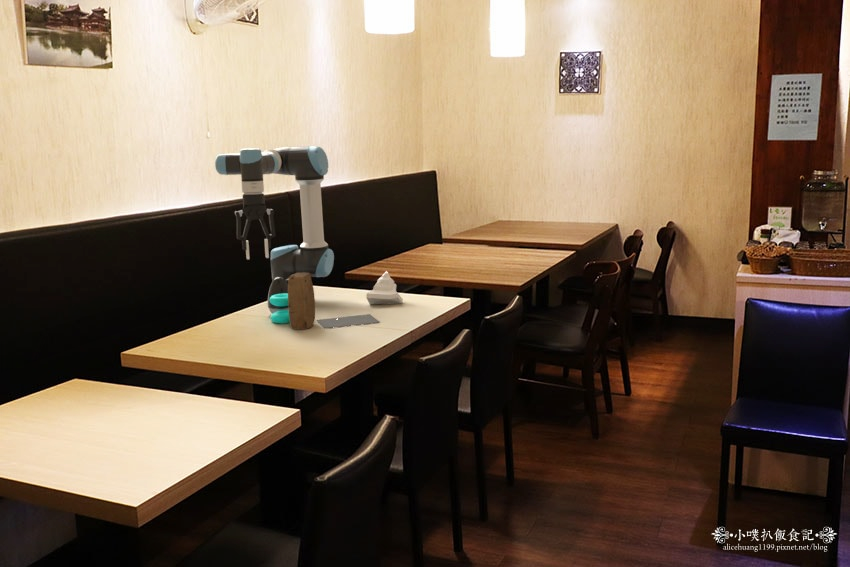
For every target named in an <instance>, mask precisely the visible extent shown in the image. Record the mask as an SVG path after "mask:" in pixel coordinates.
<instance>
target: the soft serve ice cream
mask: <svg viewBox="0 0 850 567" xmlns="http://www.w3.org/2000/svg"><path fill="white" fill-rule="evenodd" d="M376 281H377V282H376V283H375V285H373V287H372V288H373V289H371V290H370V291H368V292H366V294H365V295H366V297H365V298H366V300H367V302H368V304H369V305H370V304H371V305H388V304H387V303H395V304H403V301H404V300H403V299H404V298H403V297H402V296H401V295H400V293H399V292H397V284H396V283H395V280H394V279H393V278H391V275H390V274H389V272H388V271H387V270H386V271H385V272H384V273H383V274H382V275H381V276H380V277H379V278H378V279H377V280H376Z"/></svg>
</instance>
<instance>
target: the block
mask: <svg viewBox="0 0 850 567" xmlns="http://www.w3.org/2000/svg"><path fill="white" fill-rule="evenodd" d="M288 282H289V284H288V285H289V286H288V306H289V319H290V323H289V326H290V327H291V328H292V329H293V330H294V329H295V330H307V329H310V328H312V327H313V325H314V323H315V320H316V299H315V288H314V285H313V282H312V277H311V275H310V273H306V272H303V273H295V274H292V275H291V276H290V277H289V278H288Z"/></svg>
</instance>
